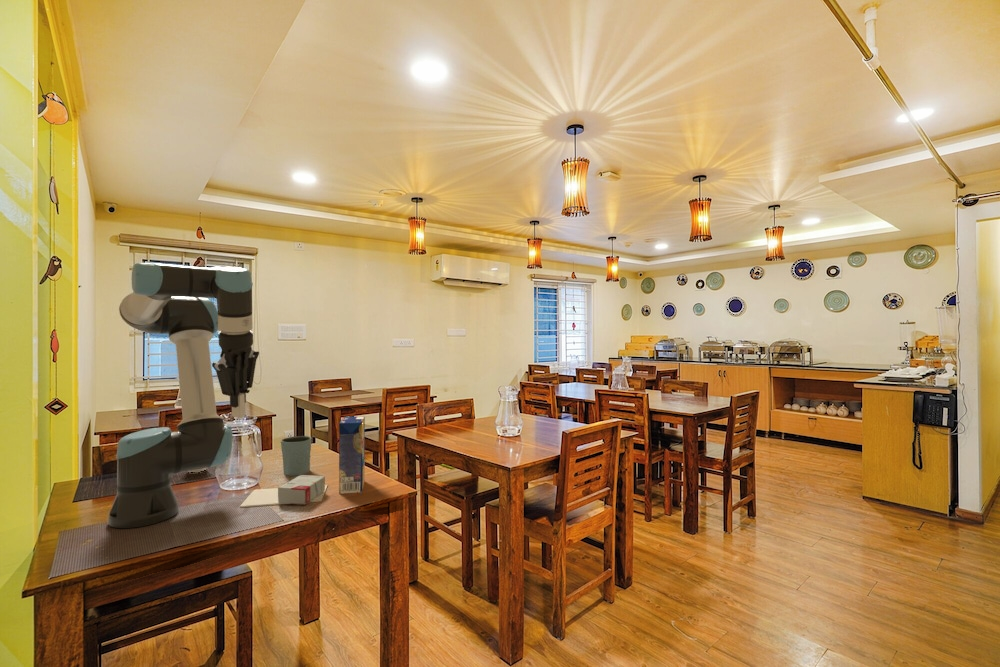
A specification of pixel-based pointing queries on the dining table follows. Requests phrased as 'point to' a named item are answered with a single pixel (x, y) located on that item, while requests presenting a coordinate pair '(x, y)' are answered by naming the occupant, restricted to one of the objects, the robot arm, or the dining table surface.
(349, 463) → the beverage box
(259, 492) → the mat
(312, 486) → the ink box
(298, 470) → the green tapered cup
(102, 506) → the dining table surface
